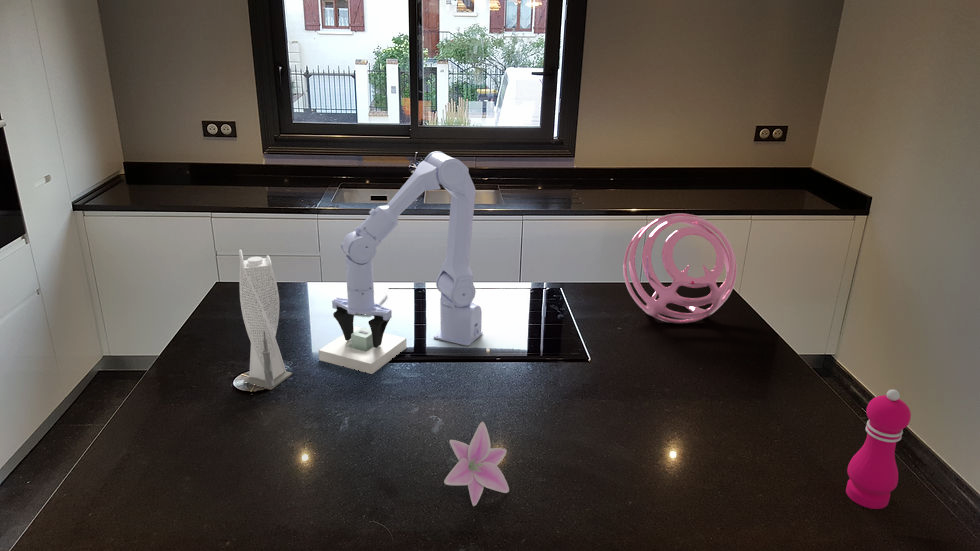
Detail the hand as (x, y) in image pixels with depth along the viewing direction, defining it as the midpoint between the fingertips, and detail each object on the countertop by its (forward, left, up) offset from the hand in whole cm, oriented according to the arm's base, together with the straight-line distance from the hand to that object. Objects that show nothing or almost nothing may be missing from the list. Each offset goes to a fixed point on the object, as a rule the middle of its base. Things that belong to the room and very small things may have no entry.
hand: (363, 342), depth 155 cm
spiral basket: (-59, -54, -3) cm, 80 cm away
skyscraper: (+12, +18, -3) cm, 22 cm away
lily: (-44, +31, -3) cm, 54 cm away
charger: (0, 0, -3) cm, 3 cm away
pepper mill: (-102, +4, -3) cm, 102 cm away
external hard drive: (+16, -23, -4) cm, 29 cm away
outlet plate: (0, 0, -3) cm, 3 cm away
